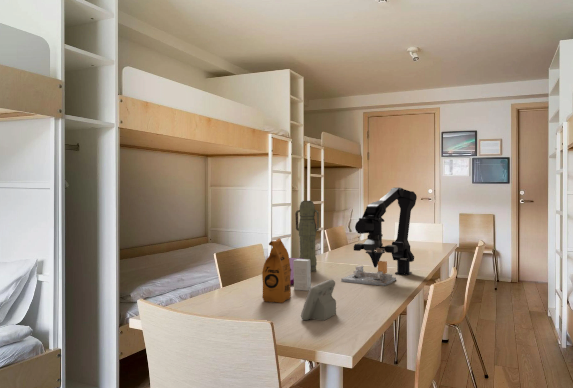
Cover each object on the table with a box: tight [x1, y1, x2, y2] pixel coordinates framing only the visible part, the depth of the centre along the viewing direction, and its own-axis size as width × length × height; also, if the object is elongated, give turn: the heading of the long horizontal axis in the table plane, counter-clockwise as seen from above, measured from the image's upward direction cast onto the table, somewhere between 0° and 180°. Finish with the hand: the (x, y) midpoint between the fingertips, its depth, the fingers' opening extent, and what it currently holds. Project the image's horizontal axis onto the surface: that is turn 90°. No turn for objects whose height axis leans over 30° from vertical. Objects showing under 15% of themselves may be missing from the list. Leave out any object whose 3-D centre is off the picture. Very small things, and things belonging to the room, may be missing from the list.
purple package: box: [289, 257, 304, 285], centre depth 198 cm, size 10×8×18 cm
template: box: [340, 265, 397, 287], centre depth 197 cm, size 14×20×5 cm
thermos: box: [294, 200, 320, 272], centre depth 226 cm, size 9×12×35 cm
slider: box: [376, 260, 388, 279], centre depth 197 cm, size 7×3×7 cm, turn 148°
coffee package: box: [261, 238, 292, 304], centre depth 166 cm, size 10×12×22 cm
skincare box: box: [293, 259, 312, 292], centre depth 182 cm, size 6×4×12 cm
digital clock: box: [300, 278, 337, 322], centre depth 143 cm, size 16×9×11 cm, turn 139°
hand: (375, 267), depth 200 cm, fingers closed
